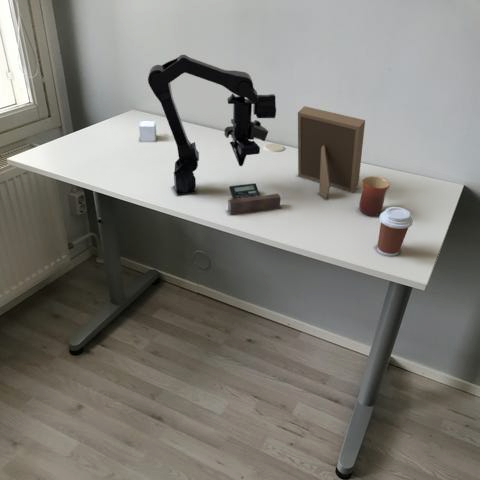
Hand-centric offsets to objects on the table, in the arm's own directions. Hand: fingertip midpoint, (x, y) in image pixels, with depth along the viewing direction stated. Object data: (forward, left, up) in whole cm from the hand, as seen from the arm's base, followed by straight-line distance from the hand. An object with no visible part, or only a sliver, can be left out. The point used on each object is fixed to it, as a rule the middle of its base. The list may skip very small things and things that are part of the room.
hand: (240, 165), depth 164 cm
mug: (+37, -25, -9) cm, 46 cm away
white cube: (-22, +56, -9) cm, 61 cm away
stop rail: (0, -15, -9) cm, 17 cm away
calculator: (0, -8, -9) cm, 12 cm away
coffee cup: (+29, -48, -9) cm, 57 cm away
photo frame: (+28, -5, -9) cm, 30 cm away
